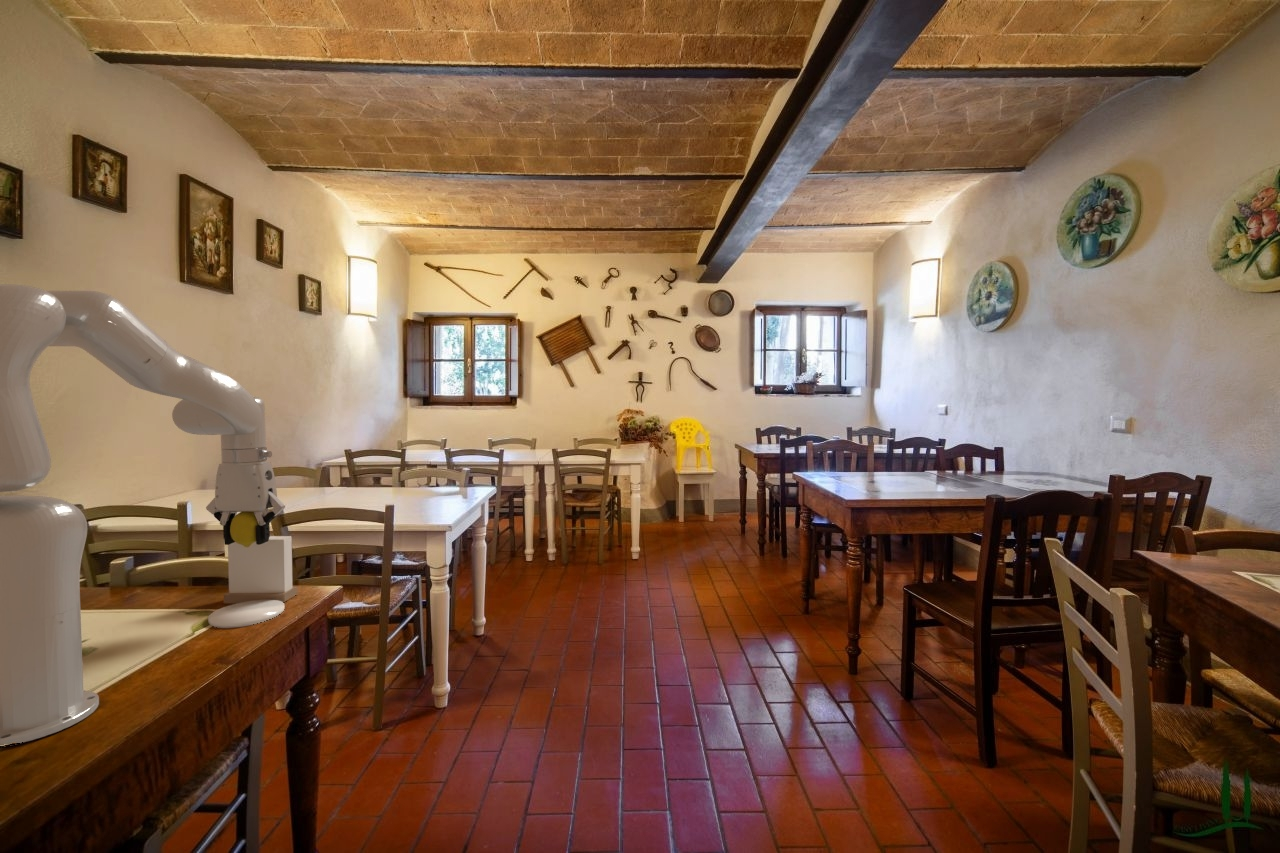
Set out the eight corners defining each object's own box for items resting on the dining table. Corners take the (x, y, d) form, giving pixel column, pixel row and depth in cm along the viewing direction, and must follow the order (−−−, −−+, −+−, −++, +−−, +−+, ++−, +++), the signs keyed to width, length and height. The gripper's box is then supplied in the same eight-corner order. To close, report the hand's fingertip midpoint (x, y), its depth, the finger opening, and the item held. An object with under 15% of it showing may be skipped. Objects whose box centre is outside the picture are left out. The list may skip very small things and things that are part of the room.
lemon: (250, 551, 113) (249, 512, 112) (224, 550, 113) (222, 511, 112) (269, 543, 118) (268, 506, 118) (244, 543, 118) (242, 506, 118)
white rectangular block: (284, 603, 123) (283, 540, 122) (223, 603, 122) (222, 540, 122) (297, 595, 128) (296, 535, 127) (239, 595, 127) (237, 535, 127)
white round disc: (260, 627, 110) (260, 622, 110) (191, 628, 109) (191, 623, 109) (297, 603, 123) (297, 599, 123) (236, 604, 122) (236, 599, 122)
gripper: (297, 454, 118) (299, 538, 120) (213, 454, 118) (216, 538, 119) (276, 458, 111) (278, 547, 112) (187, 458, 110) (190, 548, 111)
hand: (247, 542), depth 115 cm, fingers closed on lemon, 5 cm apart
